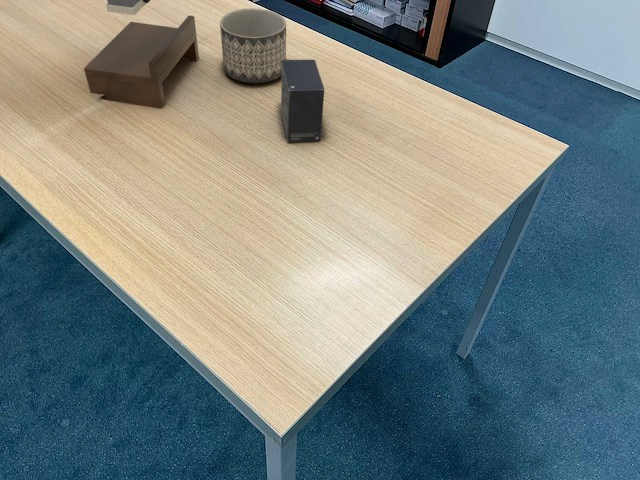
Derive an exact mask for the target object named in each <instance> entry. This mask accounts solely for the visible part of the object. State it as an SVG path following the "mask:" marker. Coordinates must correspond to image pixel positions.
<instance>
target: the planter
mask: <svg viewBox="0 0 640 480" xmlns="http://www.w3.org/2000/svg"><path fill="white" fill-rule="evenodd" d="M219 28H220V38H221V51H222V65H223V70H224V72H225V74H226V75H227V76H228V77H229V78H231V79H233V80H236V81H238V82H240V83H246V84H247V83H248V84H264V83H269V82H272V81H275V80H277V79H279V78H280V77H282V65H281V60H287V20H286V19H285V18H284V17H283V16H282V15H281V14H279V13H277V12H275V11H272V10H270V9H264V8H255V7H254V8H252V7H251V8H249V7H248V8H241V9H236V10H232V11H230V12H228V13H226V14H225V15H223V16H222V17H221V18H220V21H219Z"/></svg>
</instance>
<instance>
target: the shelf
mask: <svg viewBox="0 0 640 480" xmlns="http://www.w3.org/2000/svg"><path fill="white" fill-rule="evenodd" d="M196 28H197V27H196V20H195V15H190V14H188V15H187V16H186V17H185V19H184V20H183V22H181V24H180V25H179V26H178V27H172V26H166V25H158V24H151V23H144V22H137V21H129V23H128V24H126V26H124V28H123V29H122V30H120V32H119V33H117V34H116V36H115V37H114V38H112V40H111V41H110V42H109V43H108V44H106V45H105V46H104V48H103V49H101V50H100V52H99V53H98V54H97V55H95V56H94V57H93V59H91V60H90V61H89V62H88V64H86V65H85V67H84V68H83V71H84V74H85V78H86V81H87V85H88V88H89V92H90V93H91V94H96V95H101V96H100V97H98V100H99V99H100V100H104V101H105V100H106V101H112V102H119V103H125V104H131V105H137V106H145V107H151V108H158V109H164V108H165V106H166V105H167V103H166V99H165V92H164V86H163V82H164V81H165V79H166V78H167V77H168V76H169V74H170V73H171V72H172V71H173V69H174V68H175V67H176V66H177V64H178V63H179V62H180V60H185V61H190V62H191V61H192V62H198V60H199V59H200V54H199V46H198V37H197V29H196Z"/></svg>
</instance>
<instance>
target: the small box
mask: <svg viewBox="0 0 640 480" xmlns="http://www.w3.org/2000/svg"><path fill="white" fill-rule="evenodd" d="M281 65H282V75H281V88H280V89H281V91H280V92H281V93H280V95H281V96H280V116H281V121H282V126H283V131H284V135H285V136H284V137H285V141H286V143H306V142H307V143H308V142H320V141H321V139H322V125H323V113H324V101H325V85H324V84H323V80H322V78H321V75H320V71H319V68H318V66H317V62H316V59H286V60H281Z"/></svg>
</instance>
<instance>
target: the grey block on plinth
mask: <svg viewBox="0 0 640 480" xmlns="http://www.w3.org/2000/svg"><path fill="white" fill-rule="evenodd" d="M106 1H107V3H106V4H105V6H106V11H107V12H108V13H115V14H121V15H122V14H123V15H130V16H135V15H137V14H138V13H139V12H140V11H141V9H143V8H144V7H145V6H146V5H147V3H145V2H144V1H143V0H106Z"/></svg>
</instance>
